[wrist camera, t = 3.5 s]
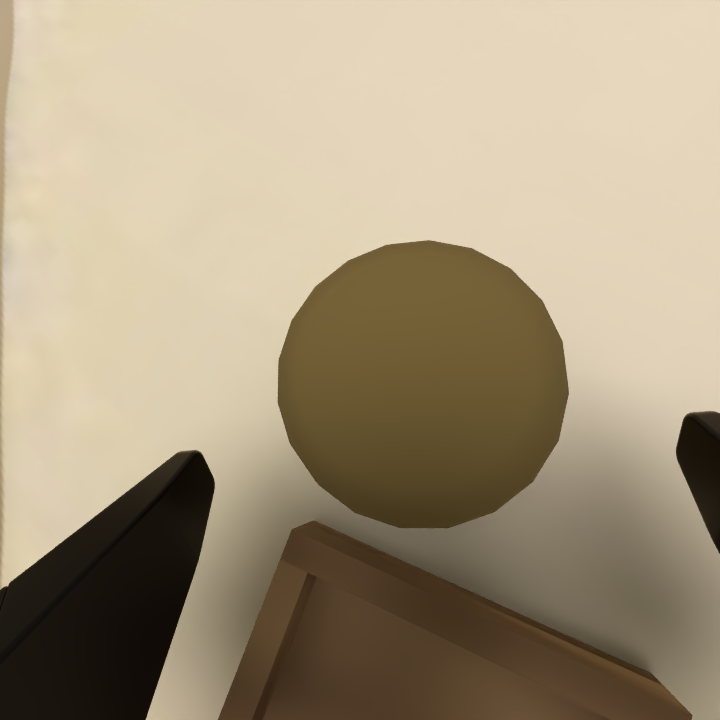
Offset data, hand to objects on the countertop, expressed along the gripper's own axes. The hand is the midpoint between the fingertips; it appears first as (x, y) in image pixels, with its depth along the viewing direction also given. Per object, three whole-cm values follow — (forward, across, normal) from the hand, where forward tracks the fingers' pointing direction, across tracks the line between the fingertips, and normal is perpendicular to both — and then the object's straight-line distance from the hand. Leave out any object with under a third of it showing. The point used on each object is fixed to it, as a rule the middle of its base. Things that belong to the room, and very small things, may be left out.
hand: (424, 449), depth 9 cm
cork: (+7, 0, +6) cm, 9 cm away
